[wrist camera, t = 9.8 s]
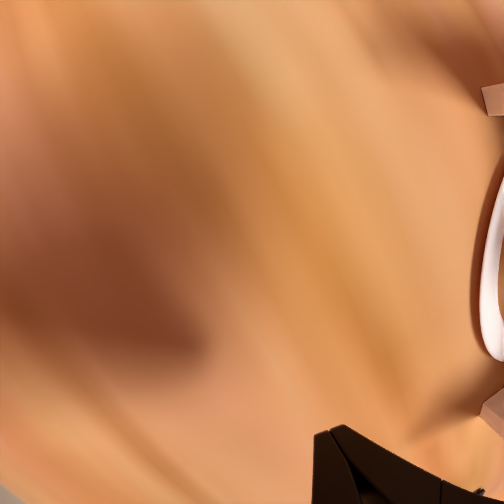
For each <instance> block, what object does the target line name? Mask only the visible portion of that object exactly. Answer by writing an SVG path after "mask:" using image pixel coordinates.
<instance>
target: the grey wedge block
mask: <svg viewBox="0 0 504 504" xmlns="http://www.w3.org/2000/svg"><path fill="white" fill-rule="evenodd" d="M481 89H482V93H483V97H484V101H485V105H486V109H487V113H488V116H502V115H504V83H502V84H497V85H492V86H487V87H482V88H481ZM479 417H480V418H482V419H483V420H484V421H485V422H486V423H487V424H488V425H489V426H490V427H491V428H492V429H493V430H494V431H496V432H497V433H498V434H499V435H500V436H501V437H502V438H503V439H504V387H503V388H502V389H501V390H500V391H498V392H497V393H496V394H495V395H493V396H492V397H491V398H489V399H488V400H487V401H485V402H484V403H483V405H482V409H481V412H480V416H479Z"/></svg>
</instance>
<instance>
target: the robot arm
mask: <svg viewBox="0 0 504 504" xmlns="http://www.w3.org/2000/svg"><path fill="white" fill-rule="evenodd" d="M484 493H485V490H484V489H481V490H480V491H478V492H477V493H472V492H470V491H467V490H465V489H462V488H460V487H458V486H455V485H453V484H451V483H449V482H447V481H445V480H442V481H441V478H439V477H437V476H435V475H433V474H431V473H429V472H427V471H425V470H423V469H421V468H419V467H417V466H416V465H414V464H412V463H410V462H408V461H406V460H404V459H403V458H401V457H399V456H397V455H395V454H394V453H392V452H390V451H388V450H386V449H385V448H383V447H381V446H380V445H378V444H376V443H374V442H373V441H371V440H369V439H368V438H366V437H364V436H363V435H361V434H359V433H358V432H356V431H354V430H353V429H351V428H349V427H348V426H346V425H343V424H342V425H339V426H336V427H334V428H331V429H330V430H329V431H328V430H326V431H323V432H320V433H317V434H315V435H314V447H313V480H312V502H311V504H504V501H500V500H496V499H492V498H488V497H485V496H483V494H484Z"/></svg>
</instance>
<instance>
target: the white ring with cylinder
mask: <svg viewBox="0 0 504 504" xmlns="http://www.w3.org/2000/svg"><path fill="white" fill-rule="evenodd" d="M503 236H504V178H503V180H502V183H501V186H500V189H499V192H498V195H497V198H496V201H495V205H494V209H493V212H492V216H491V221H490V225H489V229H488V234H487V239H486V245H485V251H484V257H483V264H482V272H481V282H480V298H479V313H480V326H481V332H482V337H483V340H484V343H485V346H486V348H487V350H488V352H489V353H490V354H491V355H492V357H494V358H495V359H497V360H499V361H503V362H504V321H503V319H502V317H501V314H500V311H499V306H498V270H499V261H500V254H501V247H502V241H503Z"/></svg>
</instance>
